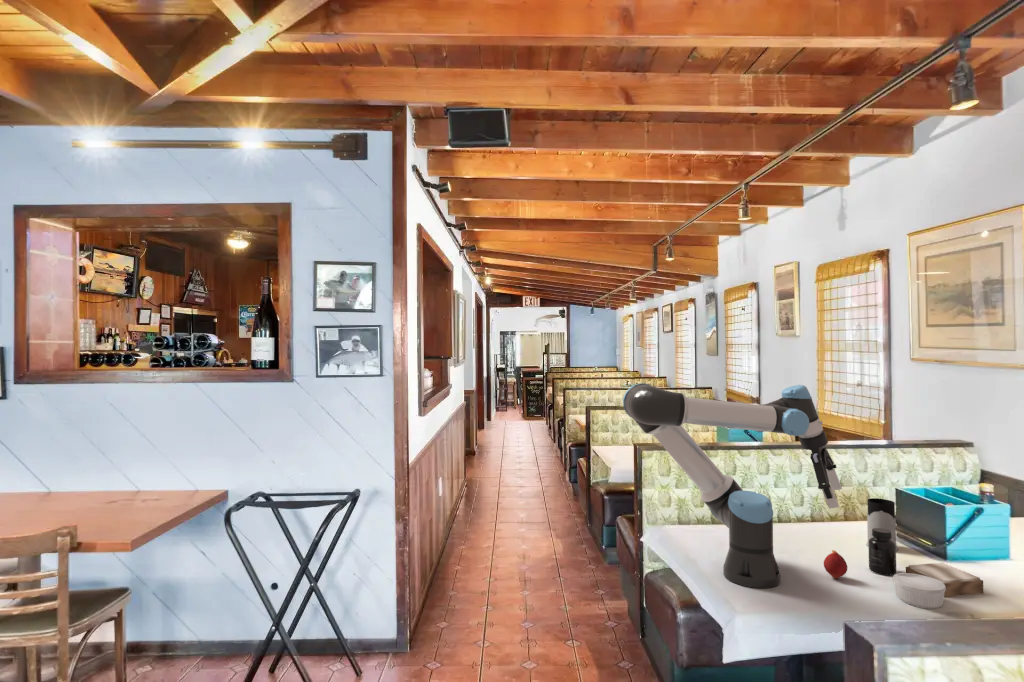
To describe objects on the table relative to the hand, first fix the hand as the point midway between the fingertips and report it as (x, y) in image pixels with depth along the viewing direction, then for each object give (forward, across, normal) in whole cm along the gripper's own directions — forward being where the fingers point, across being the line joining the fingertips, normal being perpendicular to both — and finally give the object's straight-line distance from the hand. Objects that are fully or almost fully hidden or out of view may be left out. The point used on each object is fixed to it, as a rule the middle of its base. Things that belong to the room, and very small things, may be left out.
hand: (835, 498), depth 176 cm
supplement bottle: (+21, -7, -6) cm, 23 cm away
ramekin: (+20, -25, -15) cm, 35 cm away
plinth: (+24, -10, -20) cm, 33 cm away
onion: (+15, -20, +4) cm, 25 cm away
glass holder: (+26, +19, -4) cm, 32 cm away
